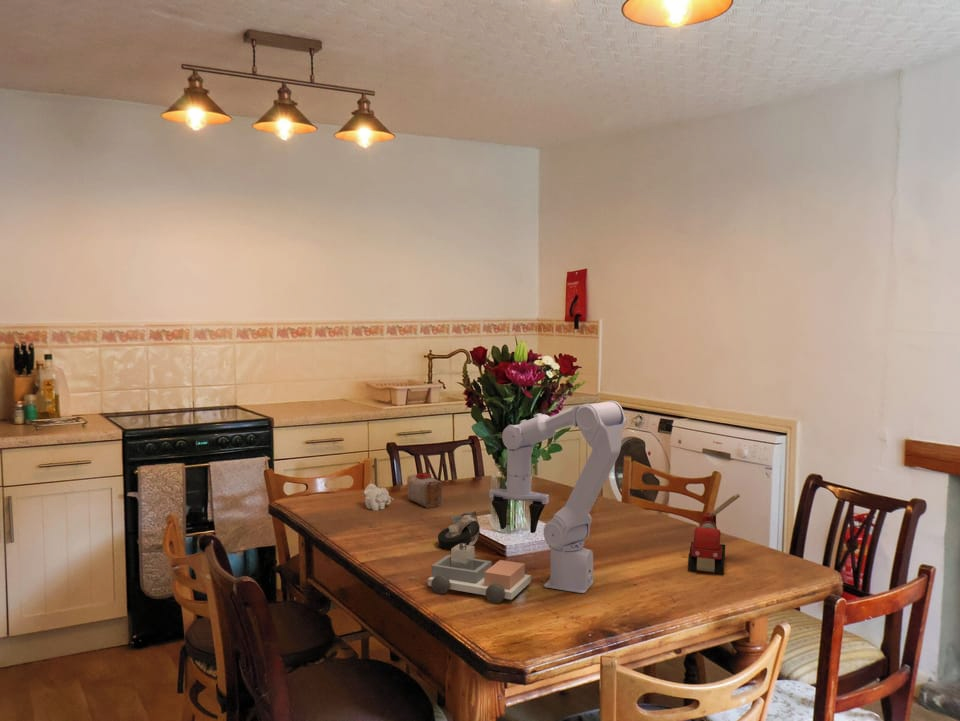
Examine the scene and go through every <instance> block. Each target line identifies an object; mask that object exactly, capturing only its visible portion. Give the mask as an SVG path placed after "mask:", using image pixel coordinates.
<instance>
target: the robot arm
mask: <svg viewBox="0 0 960 721" xmlns="http://www.w3.org/2000/svg"><path fill="white" fill-rule="evenodd" d="M626 424H627V418H626V415H625V412H624V409H623V408H622V406H621V404H620V403H618V401H616V400H611V399H610V400H607V401H603V402H596V403H583V404H580V405H574V406H572V407H569V408H567V409H565V410H563V411H560V412H558V413H557V414H554V415H552V416H549V415H548V414H545V413H544V414H543V413H535V414H533V418H530V419H528V420H527V419H523V420H522V419H521V420H520V421H519V424H508V425H507V426H506V427H505V428H504V429H503V431H502V434H501V436H502V437H501V438H502V443H503V445H504V446H505V447H506V449H507V450H506V454H507V455H506V488H491V489H489V490H488V491H489V492H488V493H489V494H488V495H489V496H488V497H489V499H492V501H491V506H492V507H493V509H494V511H495V513H496V515H497V520H498V522H499V528H500V529H501V530H504V529H506V528H507V523H508V522H507V521H508V519H507V517H508V516H507V515H508V514H507V512H508V503H509V500H511V501H521V502H528V503H531V504H528V505H529V506H528V508H529V514H530V525H529V526H530V528H529V532H530V534H534V533H536V532H537V527H538V523H539V520H540V517H541V515H542V512H543V510H544V508H545V506H546V505H547V504H549V500H550V495H549V494H546V493H542V492H536V491H532V488H531V487H532V485H531V484H532V454H533V452H534V447H535V445H536V444H538V443H541V442H543V441H546V440H549V439H552V438H553V437H554V436H555V434H556V431H558V430H561V429H564V428H567V427H570V426H574V427H575V428H576V427H578V429H579V431H580V433H581V434H582V436H583V437H584V439H585V441H586V443H587V444H588V446H589V447H591V450H592V451H591V453H590V455H589V456H588V459H587V460H586V462H585V464H584V466H583V469H582V471H581V473H580V475H579V476H578V479H577V481H576V482H575V485H574V486H573V489H572V490H571V493H570V495H569V497H568V499H567V501H566V503H565V505H564V506H563V507H561V508H560V509H559V510H558V511H557V512H555V513H554V515H553V517H552V518H551V519H550V520H549V521H547V522H546V523H545V525H544V527H543V536H544V541H545V543H546V544H547V545H548V548H549V549H550V560H549V562H550V564H549V566H550V568H549V576H550V577H549V580H548V581H547V582H545V584H543V587H544V588H547V589H548V588H549V589H555V590H559V591H567V592H571V593H572V592H573V593H579V594H585V593H587V591H588V590H589V589H590V588H591V586H592V585H593V584H594V553H593V550H592V549H589V548H585V547H584V546H585V541H586V540H587V539H588V538H589V536H590V530H591V524H592V522H593V517H592V516H591V514H590V512H591V510H592V508H593V506H594V504H595V502H596V500H597V499H598V497H599V495H600V493H601V491H602V489H603V487H604V485H605V482H606V481H607V480H608V477H609V475H610V473H611V471H612V470H613V468H614V465H615V463H616V461H617V459H618V458H619V456H620V453H621V448H622V434H623V429H624V428H625V425H626Z"/></svg>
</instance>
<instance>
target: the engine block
mask: <svg viewBox="0 0 960 721" xmlns="http://www.w3.org/2000/svg"><path fill="white" fill-rule="evenodd" d="M475 551H476V550H475V546H474V545H472V546H469V545H466V543H460V544H458V545H456V546H455V547H453V548H452V549H451V550H450V555H451V567H455V568H461V569H468V570H474V560H475V559H476V558H475V557H476V556H475Z"/></svg>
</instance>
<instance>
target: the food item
mask: <svg viewBox="0 0 960 721" xmlns="http://www.w3.org/2000/svg"><path fill="white" fill-rule="evenodd" d="M431 474H432V472H430V473H429V472H426V471H425V472H419V473H415V474H411V475H407V481H406V490H407V499H408V501H411V502H414V503H416V504H418V505H420V506H422V507H425V508H427V509H430V508H431V509H432V508H439V507H442V505H443V482H442V481H441V480H438V479H435V478H434V477H432V475H431Z"/></svg>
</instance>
